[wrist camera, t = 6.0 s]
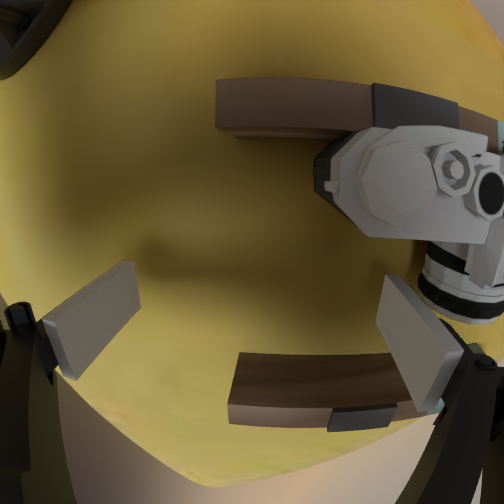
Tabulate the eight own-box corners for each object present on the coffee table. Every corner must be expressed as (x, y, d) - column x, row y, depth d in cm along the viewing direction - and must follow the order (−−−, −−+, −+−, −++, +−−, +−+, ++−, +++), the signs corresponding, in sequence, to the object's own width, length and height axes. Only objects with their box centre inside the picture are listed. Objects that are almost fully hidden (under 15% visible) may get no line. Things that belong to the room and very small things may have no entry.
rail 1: (236, 103, 14) (213, 77, 9) (515, 148, 12) (565, 153, 7) (236, 137, 15) (213, 126, 10) (515, 174, 13) (564, 185, 8)
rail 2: (239, 352, 19) (226, 408, 14) (476, 343, 17) (506, 381, 12) (240, 372, 20) (228, 428, 15) (468, 361, 18) (495, 400, 13)
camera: (301, 275, 17) (316, 404, 7) (306, 126, 14) (346, 69, 5) (497, 277, 15) (577, 344, 6) (513, 165, 13) (614, 187, 3)
